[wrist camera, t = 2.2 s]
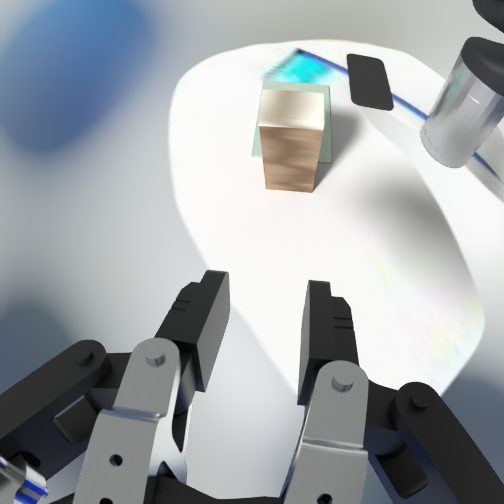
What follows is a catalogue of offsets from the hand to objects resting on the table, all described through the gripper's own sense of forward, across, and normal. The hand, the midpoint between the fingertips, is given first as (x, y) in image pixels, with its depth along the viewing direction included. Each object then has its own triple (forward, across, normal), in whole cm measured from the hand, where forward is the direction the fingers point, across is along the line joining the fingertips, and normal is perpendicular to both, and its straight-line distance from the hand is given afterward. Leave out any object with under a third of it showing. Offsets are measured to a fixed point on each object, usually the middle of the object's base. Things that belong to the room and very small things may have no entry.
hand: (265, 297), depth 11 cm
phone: (+47, -13, -12) cm, 50 cm away
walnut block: (+30, 0, +4) cm, 31 cm away
